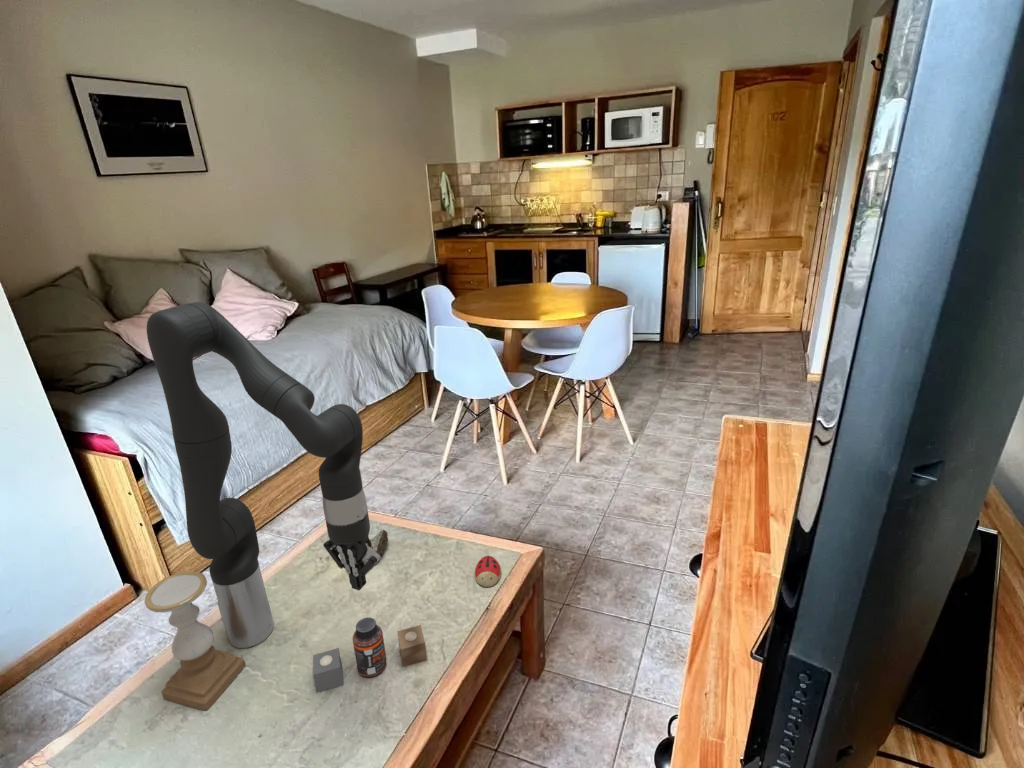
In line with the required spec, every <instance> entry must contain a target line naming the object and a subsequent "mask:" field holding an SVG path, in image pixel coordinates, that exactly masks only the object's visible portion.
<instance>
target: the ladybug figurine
mask: <svg viewBox="0 0 1024 768" xmlns="http://www.w3.org/2000/svg"><path fill="white" fill-rule="evenodd" d="M501 575H502V568H501V566H500V563H499V562H498V560H497V559H496V558H495V557H493V556H492V555H485V556H484V557H482V558H481V559H480V560H479V561H478V562H477V564H476V566H475V568H474V579H475V581H476V583H477V584H478V585H480V586H481V587H484V588H489V587H493V586H494V585H496V584H497V583H498V582H499V581H500V578H501Z"/></svg>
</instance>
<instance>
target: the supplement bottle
mask: <svg viewBox="0 0 1024 768" xmlns="http://www.w3.org/2000/svg"><path fill="white" fill-rule="evenodd" d="M352 644H353V645H352V646H353V650H354V656H355V662H356V668H357V672H358V673H359V675H360V676H363V677H365V678H372V677H376V676H378V675H379V674H381V673H382V672H383V671H384V670H385V668H386V666H387V655H386V648H385V641H384V634H383V630H382V628H381V626H380V625H378V624H377V621H376V619H375V618H373V617H368V616H367V617H363V618H362V619H360V620H359V621H357V623H356V625H355V631H354V633H353V635H352Z"/></svg>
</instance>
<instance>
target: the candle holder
mask: <svg viewBox="0 0 1024 768" xmlns="http://www.w3.org/2000/svg"><path fill="white" fill-rule="evenodd" d="M207 583H208V581H207V577H206V575H205V574H203V573H202V572H200V571H197V570H196V571H195V570H186V571H181V572H178V573H173V574H171V575H169V576H166V577H165V578H162V579H161V580H160V581H158V582H157V583H155V584H154V585H153V586H152V587H151V588H150V589H148V592H147V593H146V595H145V597H144V605H145V607H146V608H147V609H148V610H149V611H151V612H154V613H169V612H170V613H171V614H170V616H169V617H168V623H169V625H170V626H173V627H175V628H177V631H176V634H175V636H174V638H173V640H172V644H171V653H172V655H173V657H174V658H176V660H178V661H179V664H180V667H179V668H178V670H177V671H176V672H175V673H174V674H173V675H172V676H170V678H169V679H168V680H167V681H166V683H165V687H164V688H163V689H162V691H161V695H162V698H163V700H165V701H168V702H171V703H176V704H179V705H182V706H186V707H190V708H193V709H196V710H200V711H205V712H206V711H209V709H210V708H211V707H212V706H213V705H214V704H215V703H216V702H217V701H218V700H219V699H220V697H221V696H222V695H223V694H224V692H225V691H226V690H227V689H228V688H229V687H230V685H231V684H232V683H233V682H234V681H235V680H236V679H237V677H238V676H239V675H240V674H241V673H242V671H243V670H244V669H243V667H244V666H245V664H246V662H245V659H244V658H242V657H239V656H237V655H235V654H233V653H229V652H227V651H222V650H219V649H215V646H214V645H213V644H214V641H215V633H214V631H213V630H212V629H211V627H210V626H208V624H205V623H202V622H200V621H199V620H198V617H199V614H200V611H201V610H200V607H199V606H198V605H196V604H194V603H193V602H194V601H196V600H197V599H198V598H199V597H200V596H202V594H203V593H204V592H205V590H206V588H207ZM245 667H246V666H245ZM242 669H243V670H242ZM241 670H242V671H241ZM240 672H241V673H240ZM239 673H240V674H239ZM238 674H239V675H238ZM237 675H238V676H237ZM234 679H235V680H234Z"/></svg>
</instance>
